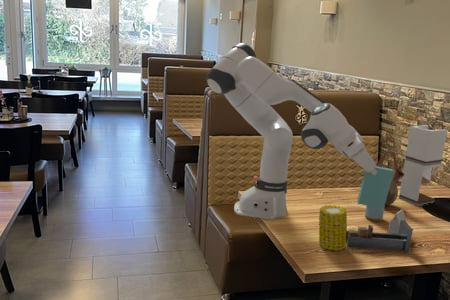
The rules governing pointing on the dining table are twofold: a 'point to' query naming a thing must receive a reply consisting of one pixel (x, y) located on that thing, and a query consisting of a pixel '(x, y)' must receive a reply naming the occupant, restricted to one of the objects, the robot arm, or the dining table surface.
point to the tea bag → (396, 222)
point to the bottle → (374, 213)
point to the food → (332, 227)
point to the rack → (384, 240)
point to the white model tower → (421, 162)
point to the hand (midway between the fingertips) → (373, 171)
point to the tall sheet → (375, 187)
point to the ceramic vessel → (396, 176)
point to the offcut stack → (361, 232)
